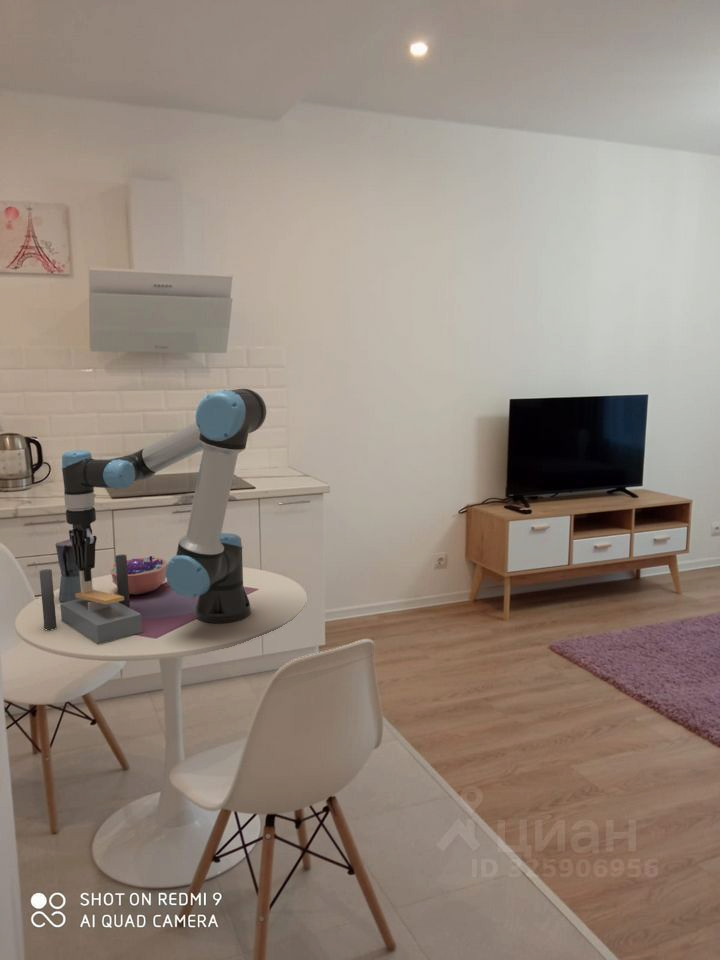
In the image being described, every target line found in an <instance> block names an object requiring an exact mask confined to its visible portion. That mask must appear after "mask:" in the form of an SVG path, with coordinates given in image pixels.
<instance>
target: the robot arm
mask: <svg viewBox="0 0 720 960" xmlns="http://www.w3.org/2000/svg"><path fill="white" fill-rule="evenodd" d="M266 417H267V406H266V403H265V401H264V399H263V398H262V396H261V395H260V394H259V393H258V392H256V391H254V390H252V389H249V388H238V389H237V388H236V389H228V390H227V389H221V390H217V391H215V392H212V393H209V394H207V395H206V396H205V397H204V398H203V399H202V400H201V401H200V402H199V403H198V406H197V408H196V411H195V421H194V422H193V423H191V424H189V425H187V426H185V427H183V428H181V429H178V430H177V431H175V432H173V433H172V434H169V435H167V436H165V437H163V438H161V439H160V440H157V441H155V442H153V443H151V444H150V445H147V446H146V447H144V448H142V449H139V450H138V451H135V452H134V453H131V454H126V455H124V456H119V457H114V458H109V459H96V458H95V459H94V458H93V456H92V452H91V451H89V450H70V451H65V452H64V453H63V454H62V457H61V472H62V479H63V481H62V482H63V488H64V493H63V494H64V495H63V496H64V507H65V508H66V510H65V518H66V524H68V525H72V529H69V531H68V535H69V534H70V536H69V538H70V537H71V542H72V548H73V554H74V560H75V565H78V568H79V573H80V586H81V593H87V592H92V591H93V590H94V588H93V579H92V578H93V577H92V575H93V574H92V569H94V568H95V567H96V544H97V539H98V538H97V536H96V535H93V529H92V526H91V524H92V523H95V522H96V519H97V515H96V508H95V507H94V506H95V503H96V502H95V498H96V494H95V488H102V489H113V490H119V489H127V488H130V487H131V486H132V484H133V483H134V482H137V481H141V480H142V481H143V480H147V479H149V478H151V477H153V476H155V474H157V472H158V473H159V472H160V471H161V470H164V469H165V468H169V467H170V466H172V465H174V464H176V463H178V462H180V461H182V460H184V459H186V458H189V457H190V456H193V455H195V454H198V453H199V452H201V451H202V454H201V461H200V464H199V470H198V475H197V479H196V484H195V485H196V486H195V489H194V494H193V499H192V506H191V510H190V515H189V519H188V524H187V530H186V534H185V535H184V536H182V537H181V538H179V540H178V546H177V549H176V555H175V556H173V557H171V559H170V560H169V561H168V562H167V567H166V580H167V583H168V585H169V586H170V587H171V589H172V591H174V592H175V593H176V594H178V595H180V596H181V597H183V598H188V599H189V598H191V599H192V598H197V597H198V600H197V602H196V606H195V617H196V619H198V620H199V621H201V622H203V623H204V622H205V623H210V624H211V623H212V624H223V623H225V624H226V623H232V622H236V621H240V620H241V621H242V620H243V619H245V618H248V617H249V616H250V614H251V612H252V611H251V603H250V600H249V597H248V595H247V593H246V590H245V589H246V588H245V586H244V570H243V569H244V568H243V564H244V563H243V545H242V537H241V536H240V535H238V534H235V533H229V532H226V533H225V532H222V531H223V527H224V523H225V517H226V513H227V512H226V511H227V508H228V502H229V499H230V494H231V488H232V483H233V478H234V474H235V470H236V465H237V460H238V456H239V454H240V453H241V452H243V451H244V450H245V449H246V446H247V443H248V437H249V434H252V433H253V432H255V431H257V430H259V429H260V428H261V427H262V425H263V424H264V423H265V420H266Z"/></svg>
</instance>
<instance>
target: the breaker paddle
mask: <svg viewBox="0 0 720 960" xmlns="http://www.w3.org/2000/svg"><path fill="white" fill-rule="evenodd" d="M75 597H77V598H81V599H85V600H89V601H93V602H97V603H101V604H110V603H114V602H118V601H123V600H124V596H120V595H118V594H115V593H109V592H107V591H105V592H104V591H100V590H95V589H93V591H92V592H87V593H81V592H80V593H76V594H75Z"/></svg>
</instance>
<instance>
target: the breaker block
mask: <svg viewBox="0 0 720 960" xmlns="http://www.w3.org/2000/svg"><path fill="white" fill-rule="evenodd" d="M59 605H60V615H61V617H60V618H61V622H63V623H64V624H66V625H68V626H69V627H71V628H72V629H74V630H75V631H77V632H78V633H80V634H81V635H83V636H85V637H86V638H88V639H89V640H91V641H92V642H94V643H95V644H97V645H100V644H105V643H109V642H113V641H116V640H119V639H124V638H128V637H130V636H134V635H139V634H141V633H143V622H142V621H143V620H142V613H140V612H138V611H136V610H134V609H133V608H131V607H130V608H129V607H127V606H125V605H123V604H121V603H119V602H114V603H110V604H101V603H97V602H93V601H89V600H85V599H76V600H72V601H68V602H60V603H59Z"/></svg>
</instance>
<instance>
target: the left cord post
mask: <svg viewBox="0 0 720 960" xmlns="http://www.w3.org/2000/svg"><path fill="white" fill-rule="evenodd" d="M39 580H40V582H39V583H40V594H41V595H40V596H41V604H42V605H41V606H42V615H43V616H42V617H43V627H44V628H45V629H47V630H49V631H52V630H51V629H54V630H56V629H57V628H56V627H57V615H56V606H55V593H54V583H53V570H52V569H50V568H49V569H42V570H39ZM55 628H56V629H55ZM45 629H44V630H45ZM47 630H46V631H47Z"/></svg>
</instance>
